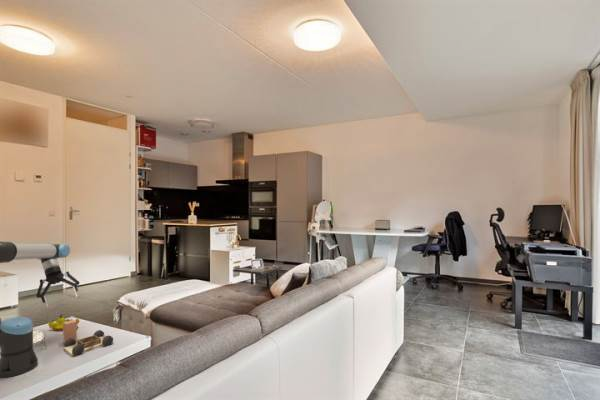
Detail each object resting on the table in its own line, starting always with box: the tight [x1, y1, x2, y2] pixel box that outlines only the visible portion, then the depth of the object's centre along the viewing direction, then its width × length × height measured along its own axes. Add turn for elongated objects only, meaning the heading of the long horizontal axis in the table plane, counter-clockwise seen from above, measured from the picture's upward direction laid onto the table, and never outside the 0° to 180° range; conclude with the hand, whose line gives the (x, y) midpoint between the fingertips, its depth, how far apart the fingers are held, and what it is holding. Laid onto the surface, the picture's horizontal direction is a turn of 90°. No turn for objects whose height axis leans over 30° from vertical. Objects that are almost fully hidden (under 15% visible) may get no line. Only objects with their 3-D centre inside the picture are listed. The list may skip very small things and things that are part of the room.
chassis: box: [63, 329, 114, 358], centre depth 177 cm, size 20×14×5 cm
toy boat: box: [47, 313, 80, 331], centre depth 203 cm, size 6×18×10 cm, turn 89°
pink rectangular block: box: [62, 319, 78, 345], centre depth 182 cm, size 5×5×12 cm
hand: (62, 302), depth 183 cm, fingers open, 13 cm apart
